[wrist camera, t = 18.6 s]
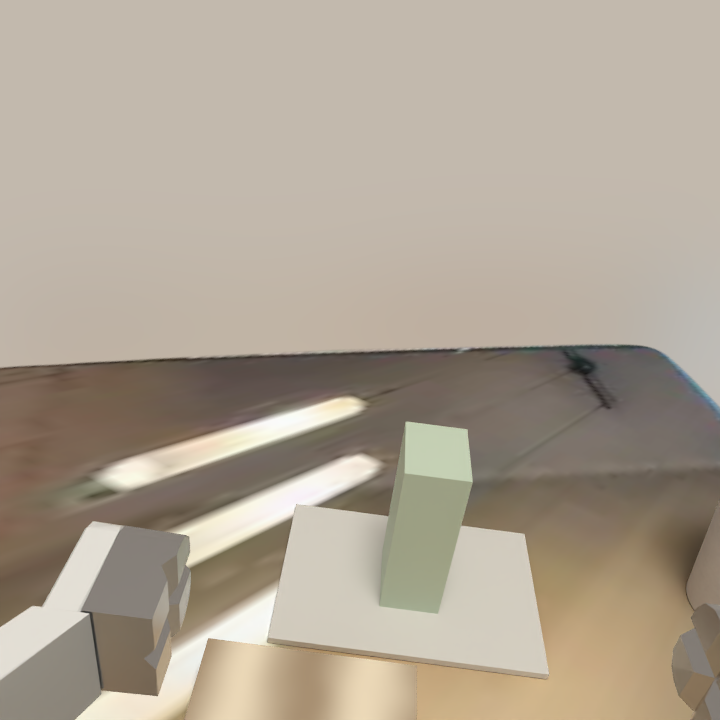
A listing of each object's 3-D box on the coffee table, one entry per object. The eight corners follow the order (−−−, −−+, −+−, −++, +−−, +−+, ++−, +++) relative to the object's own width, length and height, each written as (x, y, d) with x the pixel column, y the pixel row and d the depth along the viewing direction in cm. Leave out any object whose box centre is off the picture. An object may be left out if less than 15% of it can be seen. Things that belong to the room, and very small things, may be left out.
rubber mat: (267, 642, 44) (267, 637, 44) (295, 508, 54) (296, 504, 54) (547, 679, 44) (549, 674, 44) (522, 538, 54) (524, 534, 54)
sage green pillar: (379, 606, 46) (404, 473, 40) (382, 550, 51) (405, 421, 44) (437, 614, 46) (472, 482, 40) (436, 557, 51) (467, 429, 44)
